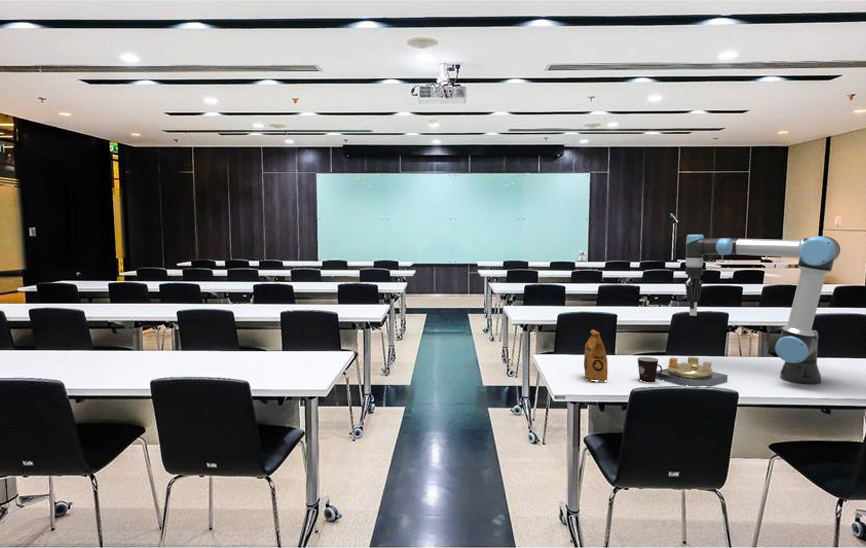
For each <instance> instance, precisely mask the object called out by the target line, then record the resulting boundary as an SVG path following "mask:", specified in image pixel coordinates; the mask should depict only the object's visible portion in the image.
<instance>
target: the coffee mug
mask: <svg viewBox="0 0 866 548" xmlns="http://www.w3.org/2000/svg"><path fill="white" fill-rule="evenodd" d="M637 367H638V374H639V377H638V378H639V381H640V380H642V381H645V382H654V383H655V382H656V380H657V379H656V376H657V375H659V374H660V373H661V372H662V370H663V367H662V365H660V364H659V359H658V358H655V357H651V356H650V357H649V356H640V357H637ZM658 367H659V368H660V370H661V371H660V373H658V374H656V372H657V371H658ZM645 382H644V383H645Z"/></svg>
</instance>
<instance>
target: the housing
mask: <svg viewBox="0 0 866 548" xmlns="http://www.w3.org/2000/svg"><path fill="white" fill-rule="evenodd" d="M660 371H661V369H659V370H658V369H657V372H656V374H658V373H660ZM658 379H659V381H662V380H664V381H663V382H666V381H667V383H670V382H671V384H674V383H675V385H679V386H682V385H688V386H710V387H713V386H716V385H720V384H723V383H727V382H728V379H729V378H728V374H723V373H721V372H720V373H719V372H715V371H712V376H711V377H706V378H690V377H682V376H677V375H674V374H671V373H669V372H668V367H667V368H664V369H663V368H662V372H661V373H660V374H659V375H657V376H656V379H655V380H658Z"/></svg>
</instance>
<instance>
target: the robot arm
mask: <svg viewBox="0 0 866 548" xmlns="http://www.w3.org/2000/svg"><path fill="white" fill-rule="evenodd" d="M840 253H841V246H840V244H839V243H838V241H837V240H836V239H834V238H832V237H830V236H823V235H822V236H821V235H820V236H819V235H816V236H811V237H803V238H802V239H801V240H800V239H799V240H798V239H795V240H794V239H764V238H733V237H732V238H731V237H723V238H705V237H704V235H703V234H687V235H686V242H685V266H686V267H685V270H684V271H685V275H686V276H687V281H684V285H685V293H686V301H687V302H689V316H696V317H697V315H698V314H697V308H698V303H700V298H701V293H702V285H703V283H704V282H703V280H701V276H702V275H703V274H704V272H703V271H704V268H703V265H704V255H711V256H712V255H715V256H717V255H718V256H719V255H720V256H726V255H744V256H745V255H746V256H761V257H762V256H765V257H785V258H799V259H798V262H797V267H798V269H800V273H799V277H798V281H797V284H796V289H795V292H794V293H795V294H794V298H793V301H792V305H791V309H790V314H789V318H788V321H787V324H786V325H784V326H783V327H782V328H781V333H780V336H779V339H778V340H777V341H776V343H775V345H774V346H775V348H774V349H775V353H776V355H777V356H778V357H779V358H780V360H782V361H783V362H784V363H783V366H782V368H781V371H780V374H779V375H780V376H779V377H780V379H781V380H784V381H788V382H791V383H797V384H806V385H816V384H820V383H822V376H821V372H820V370H819V367H818V344H819V343H818V342H819V333H818V331H817V330H814V329H813V324H814V321H815V317H816V314H817V313H816V312H817V310H818V305H819V301H820V298H821V295H822V290H823V286H824V282H825V278H826V275H828V274H829V273H831V272H832V271H833V265H834V262H835V260H837V259H838V257H839V255H840Z"/></svg>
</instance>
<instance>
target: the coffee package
mask: <svg viewBox="0 0 866 548" xmlns="http://www.w3.org/2000/svg"><path fill="white" fill-rule="evenodd" d="M590 334H591V335H590V337H588V340H587V341H586V343H585V344H584V355H583V356H584V357H583V358H584V360H583V369H584V376H585V377H586V379H588V380H589V381H590V380H599V381H605V380H607V381H608V373H609V372H608V370H609V369H608V357H607V354H606V348H605V345H604V342H603V340H602V339H601V336H600V332H599V331H597V330H595V329H591V330H590Z"/></svg>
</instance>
